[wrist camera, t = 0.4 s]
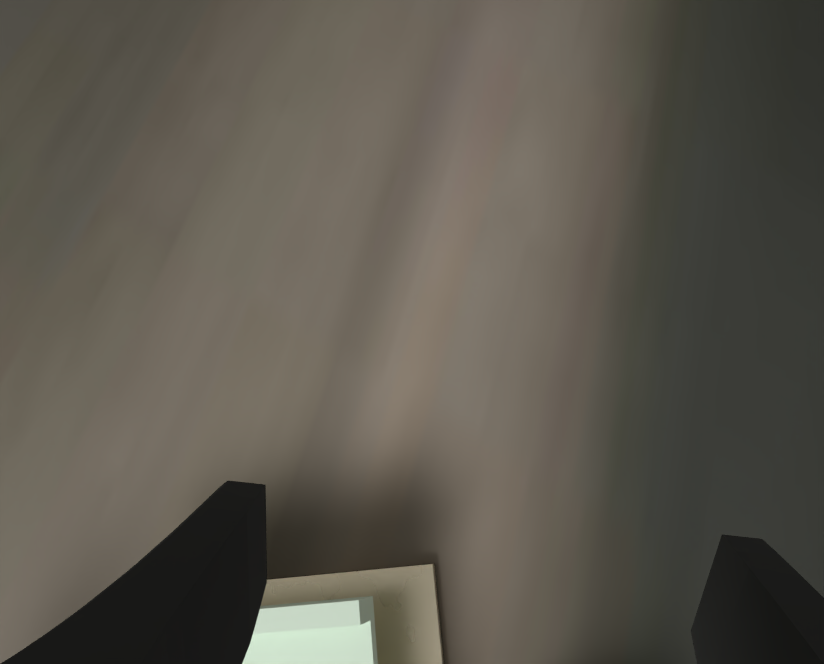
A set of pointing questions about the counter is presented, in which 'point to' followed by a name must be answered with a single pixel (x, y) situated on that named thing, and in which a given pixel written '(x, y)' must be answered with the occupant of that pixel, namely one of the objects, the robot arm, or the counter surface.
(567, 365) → the counter surface
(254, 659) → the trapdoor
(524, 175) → the counter surface
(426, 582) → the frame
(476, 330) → the counter surface
